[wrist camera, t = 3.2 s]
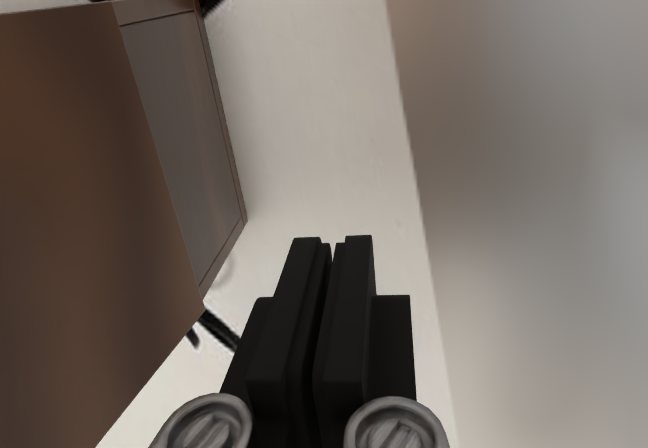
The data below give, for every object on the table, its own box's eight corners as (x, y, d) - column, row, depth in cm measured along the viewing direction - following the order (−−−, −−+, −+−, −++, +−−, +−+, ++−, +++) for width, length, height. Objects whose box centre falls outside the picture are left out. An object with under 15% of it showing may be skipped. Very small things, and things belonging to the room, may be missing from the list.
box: (24, 230, 30) (-81, 305, 24) (-76, 26, 24) (-255, 48, 18) (248, 221, 28) (202, 302, 21) (197, -10, 22) (109, 0, 15)
